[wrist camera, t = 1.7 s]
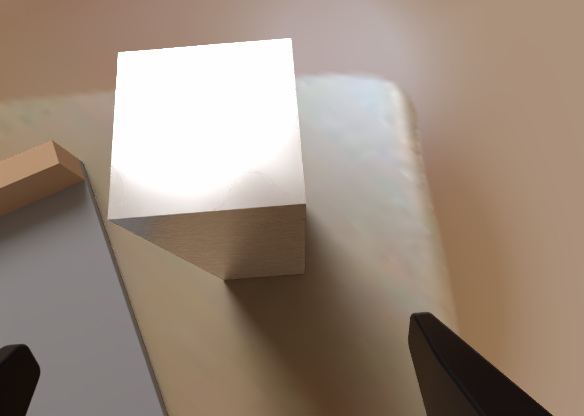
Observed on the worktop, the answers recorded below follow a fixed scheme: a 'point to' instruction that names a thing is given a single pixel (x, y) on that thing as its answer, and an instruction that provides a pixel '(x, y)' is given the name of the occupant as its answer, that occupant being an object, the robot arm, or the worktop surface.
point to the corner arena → (68, 292)
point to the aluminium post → (212, 156)
